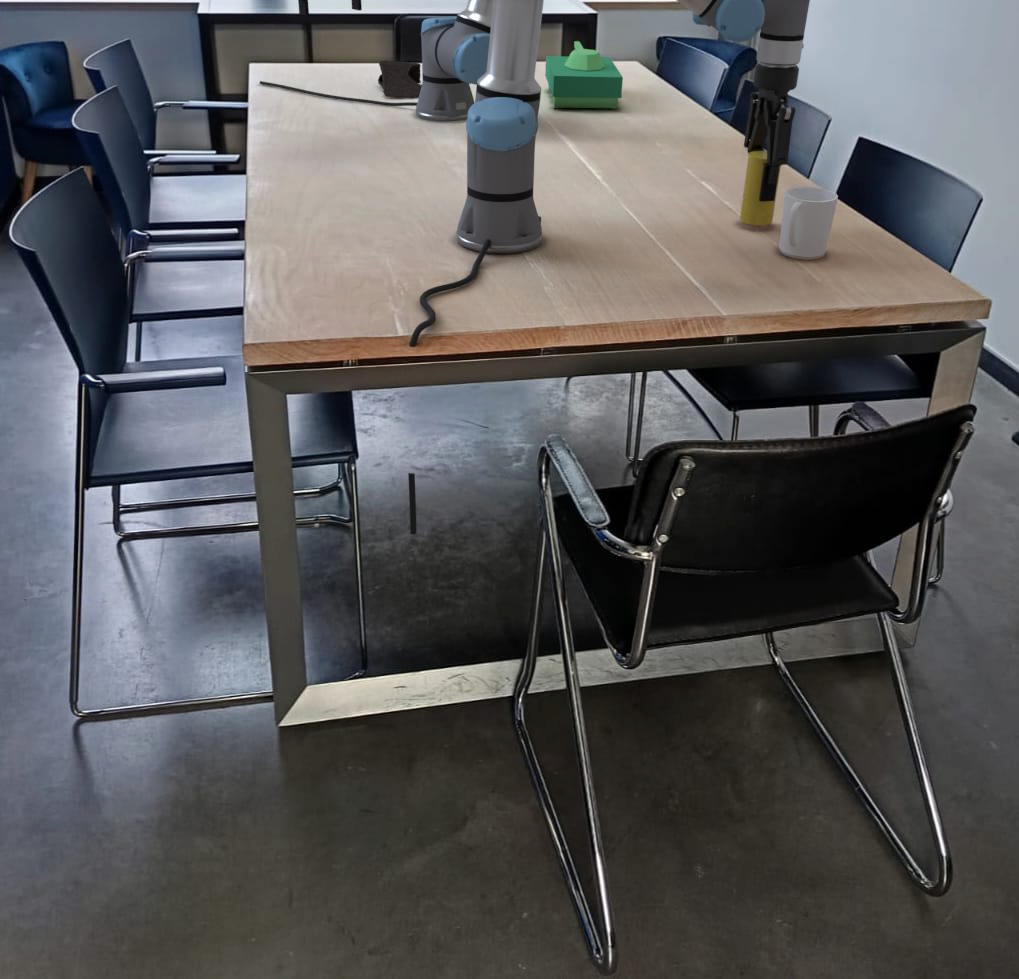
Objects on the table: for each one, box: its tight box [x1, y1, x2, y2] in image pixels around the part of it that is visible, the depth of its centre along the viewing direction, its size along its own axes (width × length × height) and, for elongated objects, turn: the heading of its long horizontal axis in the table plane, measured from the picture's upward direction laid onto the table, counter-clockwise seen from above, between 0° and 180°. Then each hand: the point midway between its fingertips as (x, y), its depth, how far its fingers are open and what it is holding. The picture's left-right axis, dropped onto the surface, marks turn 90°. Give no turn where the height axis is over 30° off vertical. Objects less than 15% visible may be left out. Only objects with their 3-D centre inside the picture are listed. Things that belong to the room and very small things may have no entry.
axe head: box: [377, 59, 422, 99], centre depth 299 cm, size 18×8×15 cm
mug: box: [778, 186, 839, 261], centre depth 190 cm, size 11×9×10 cm
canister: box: [739, 150, 782, 226], centre depth 202 cm, size 6×6×12 cm
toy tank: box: [544, 40, 624, 109], centre depth 295 cm, size 18×12×35 cm
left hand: (330, 12), depth 239 cm, fingers open, 13 cm apart
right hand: (759, 195), depth 203 cm, fingers closed on canister, 6 cm apart
